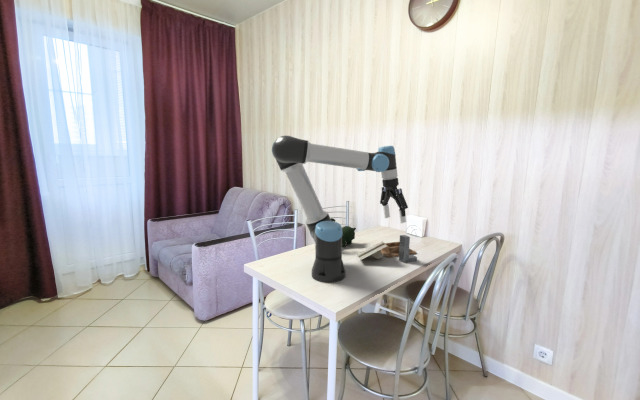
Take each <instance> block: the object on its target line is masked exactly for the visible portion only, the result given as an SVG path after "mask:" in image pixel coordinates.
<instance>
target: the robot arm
mask: <svg viewBox="0 0 640 400" xmlns="http://www.w3.org/2000/svg"><path fill="white" fill-rule="evenodd" d="M272 143H273V144H272V145H271V146H272V147H271V152H272V156H273V158H275V160H276V163H277V165H278V167H279V170H280V171H281V172H284V173H285V174H286V176H287V178H288V180H289V183H290V185H291V187H292V189H293V191H294V193H295V195H296V197H297V200H298V201H299V204H300V206H301V208H302V211H303V213H304V215H305V216H306V217H305V218H306V220H305V225H306V227H307V228H308V231H309V233H310V236H311V238H312V239H313V242H314V243H315V259H314V262H313V265H312V268H311V277H312V278H313V279H314V280H316V281H319V282H322V283H334V282H339V281H342V280H343V279H345V277H346V271H347V270H346V268H345V264H344V261H343V246H342V234H343V232H342V227H343V226H342V225H341V223H339V222H336V221H335V222H334V221H331V219H330V218H331V216H330V215H329V212H328V211H325V210H324V209H323V207H322V205H321V202H320V200H319V198H318V196H317V193H316V191H315V189H314V187H313V184H312V182H311V180H310V178H309V176H308V173H307V172H306V169H305V167H304V165H305V164H306V163H315V164H321V165H329V166H336V167H343V168H349V169H356V170H357V171H358V172H366V171H372V172H375V173H381V179H382V181H381V182H382V186H381V193H380V201H379V203H380V205H381V206H382V207H383V213H384V219H389V218H391V216H390V215H391V214H390V206H389V201H390V198H392V199H394V201H395V203H396V205H397V207H398V208H399V210H398V213H399V221H400V224H404V223H407V217H406V214H407V213H406V210H407V209H408V208H409V207H408V204H407V201H406V198H405V196H404V194H403V189H402V188H398V186H399V178H398V168H397V157H396V151H395V147H394V145H387V146H386V145H385V146H379V147H378V151H376V152H367V151H362V150H361V151H360V150H354V149H348V148H342V147H335V146H328V145H323V144H316V143H311V142H310V141H309V140H307V139H301V138H297V137H294V136H291V135H281V136H279V137H277V138H276V139H275V140H274V142H272Z"/></svg>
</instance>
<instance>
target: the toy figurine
mask: <svg viewBox="0 0 640 400" xmlns="http://www.w3.org/2000/svg"><path fill="white" fill-rule="evenodd" d="M330 219H331V221H334V222H336V219H335V218H334V217H330ZM356 230H357V229H356V227H351V226H349V225H345V226H342V232H343V234H342V247H346V246H347V245H351V244H352V243H353V240H355V238H356V233H355V231H356Z"/></svg>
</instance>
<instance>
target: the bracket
mask: <svg viewBox="0 0 640 400" xmlns="http://www.w3.org/2000/svg"><path fill="white" fill-rule="evenodd" d="M410 241H411V237H410V236H409V235H406V234H400V235H399V242H400V244H399V256H398V261H400V262H401V263H403V264H404V263H405V264H406V263H412V262H417V261H418V257H417V256H416V255H415V254H412V255H409V249H410V243H411V242H410Z"/></svg>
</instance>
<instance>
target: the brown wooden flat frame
mask: <svg viewBox="0 0 640 400" xmlns="http://www.w3.org/2000/svg"><path fill="white" fill-rule="evenodd" d="M384 244H386V245H387V247H385V248H383V249H381V252H382V254H383V257H386V258H388V259H389V258H394V257H399V244H400V241H393V242H384ZM409 255H417V251H415V250H413V249H411V248H409Z"/></svg>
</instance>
